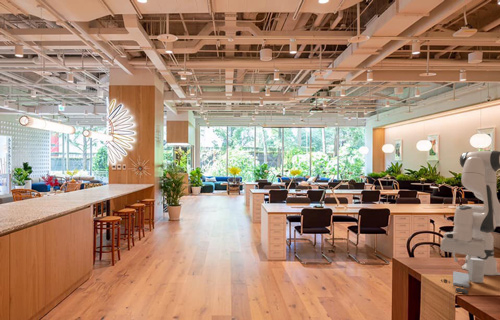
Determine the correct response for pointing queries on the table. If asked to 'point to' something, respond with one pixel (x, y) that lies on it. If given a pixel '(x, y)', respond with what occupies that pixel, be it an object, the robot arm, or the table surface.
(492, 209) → the robot arm
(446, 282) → the stand
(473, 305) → the table surface
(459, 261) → the ball
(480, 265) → the skincare box
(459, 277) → the ramp
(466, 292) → the rail
